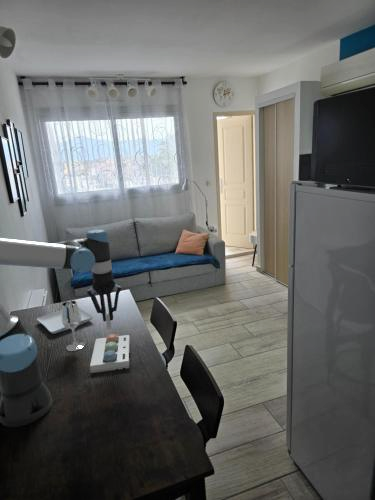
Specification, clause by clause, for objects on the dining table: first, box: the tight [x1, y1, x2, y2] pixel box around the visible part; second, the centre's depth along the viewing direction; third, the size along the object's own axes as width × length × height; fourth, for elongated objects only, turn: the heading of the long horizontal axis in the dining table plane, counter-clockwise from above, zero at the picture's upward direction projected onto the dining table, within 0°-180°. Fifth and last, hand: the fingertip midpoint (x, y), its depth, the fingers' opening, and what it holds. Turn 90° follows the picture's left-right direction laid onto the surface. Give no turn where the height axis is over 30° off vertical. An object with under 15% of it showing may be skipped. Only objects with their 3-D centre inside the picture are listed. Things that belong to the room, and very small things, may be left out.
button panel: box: [89, 334, 131, 374], centre depth 130 cm, size 20×14×3 cm
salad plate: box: [36, 306, 94, 334], centre depth 161 cm, size 21×21×3 cm
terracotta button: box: [105, 333, 118, 343], centre depth 136 cm, size 4×4×3 cm
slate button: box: [104, 350, 116, 363], centre depth 123 cm, size 4×4×3 cm
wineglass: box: [61, 300, 86, 352], centre depth 136 cm, size 8×8×20 cm
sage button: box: [105, 342, 117, 352], centre depth 130 cm, size 4×4×3 cm
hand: (109, 327), depth 128 cm, fingers closed
